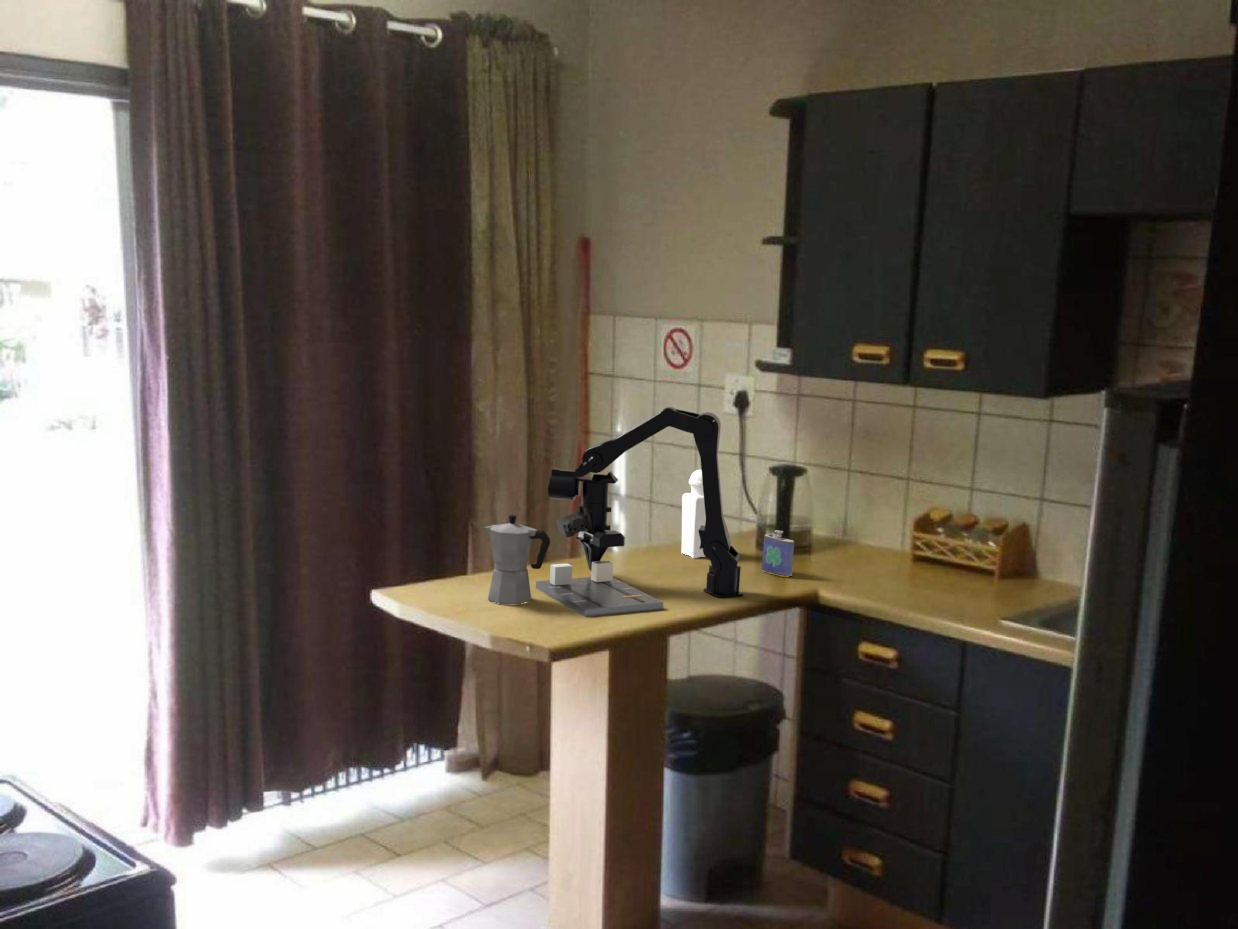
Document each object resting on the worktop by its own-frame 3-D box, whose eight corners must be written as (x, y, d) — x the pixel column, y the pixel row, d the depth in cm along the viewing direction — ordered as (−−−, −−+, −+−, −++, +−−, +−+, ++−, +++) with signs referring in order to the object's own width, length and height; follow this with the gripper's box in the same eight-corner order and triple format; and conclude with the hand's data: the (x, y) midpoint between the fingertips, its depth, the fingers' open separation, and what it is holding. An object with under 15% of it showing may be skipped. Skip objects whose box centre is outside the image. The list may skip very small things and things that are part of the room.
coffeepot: (470, 599, 237) (473, 514, 234) (493, 590, 245) (496, 507, 243) (536, 611, 230) (539, 523, 228) (557, 601, 239) (561, 516, 237)
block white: (566, 581, 249) (567, 563, 249) (571, 584, 247) (572, 565, 246) (549, 582, 247) (550, 564, 247) (554, 585, 245) (555, 566, 244)
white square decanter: (692, 559, 285) (697, 472, 282) (678, 553, 291) (683, 468, 288) (714, 557, 288) (719, 471, 285) (699, 552, 294) (704, 467, 291)
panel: (608, 582, 257) (609, 575, 257) (663, 609, 237) (663, 601, 236) (535, 588, 249) (536, 580, 249) (585, 616, 228) (585, 608, 228)
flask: (794, 577, 271) (797, 533, 269) (785, 579, 269) (788, 534, 267) (766, 569, 278) (769, 526, 276) (757, 571, 276) (760, 527, 274)
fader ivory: (607, 578, 254) (607, 560, 253) (612, 580, 252) (613, 562, 251) (591, 579, 252) (591, 561, 251) (596, 582, 250) (597, 563, 249)
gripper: (544, 496, 258) (541, 563, 260) (581, 510, 242) (578, 582, 244) (588, 494, 263) (585, 560, 266) (627, 508, 247) (624, 579, 249)
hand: (592, 570), depth 256 cm, fingers closed
